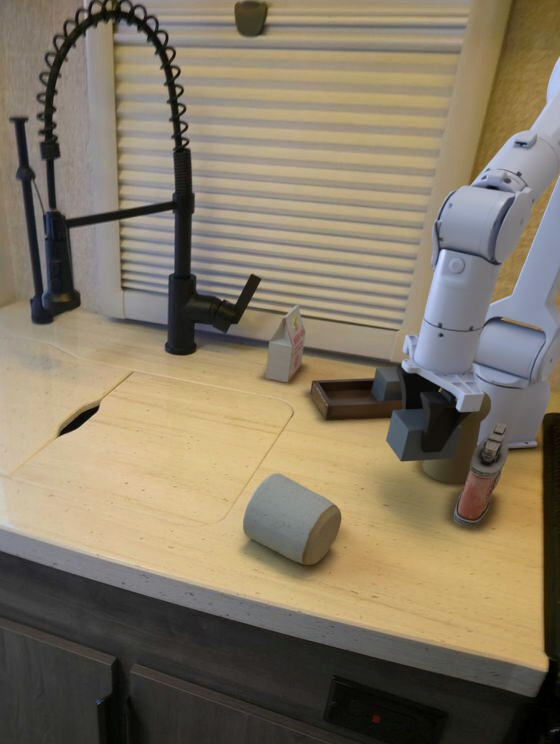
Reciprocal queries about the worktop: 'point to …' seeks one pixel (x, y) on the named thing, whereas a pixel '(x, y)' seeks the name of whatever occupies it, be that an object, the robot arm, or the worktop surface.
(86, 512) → the worktop surface
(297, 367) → the milk carton
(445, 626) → the worktop surface
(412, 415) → the blue gray block
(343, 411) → the brown wooden tray
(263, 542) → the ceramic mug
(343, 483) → the worktop surface
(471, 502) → the lighter
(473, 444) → the olive pawn piece
